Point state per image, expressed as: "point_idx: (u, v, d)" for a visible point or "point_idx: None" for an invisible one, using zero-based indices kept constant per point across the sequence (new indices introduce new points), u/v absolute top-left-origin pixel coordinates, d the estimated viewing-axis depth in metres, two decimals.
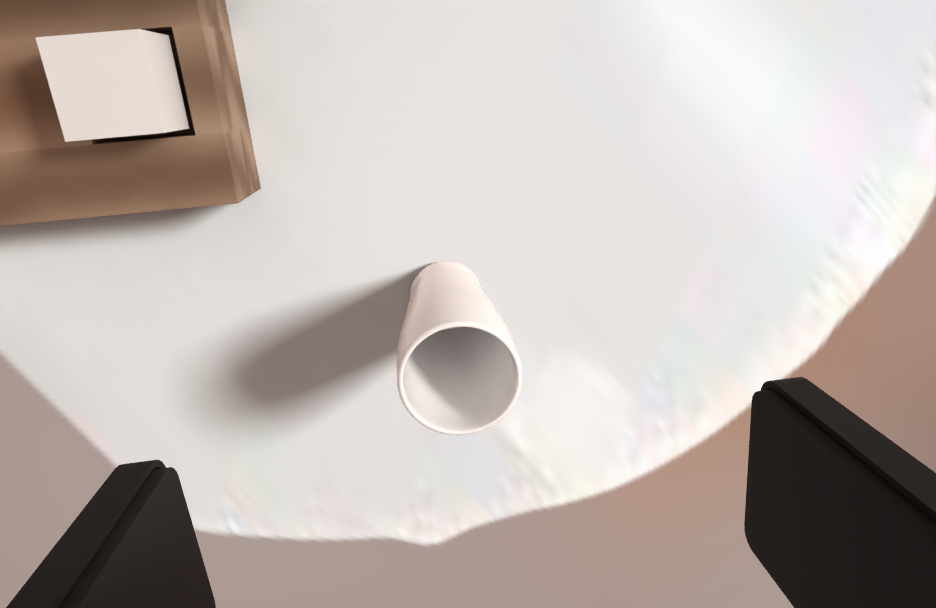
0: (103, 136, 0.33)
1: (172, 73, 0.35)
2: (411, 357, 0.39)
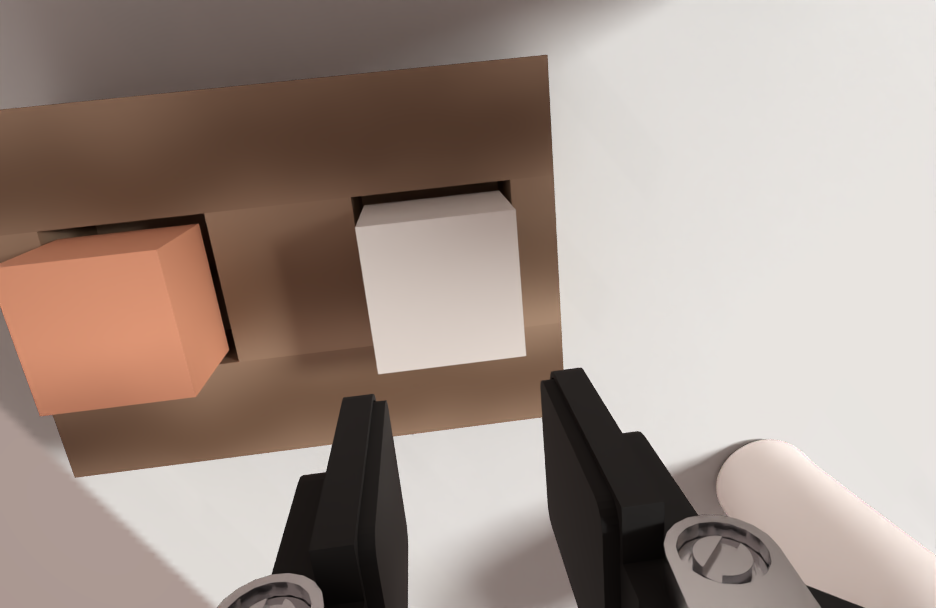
0: (436, 365, 0.21)
1: None
2: None
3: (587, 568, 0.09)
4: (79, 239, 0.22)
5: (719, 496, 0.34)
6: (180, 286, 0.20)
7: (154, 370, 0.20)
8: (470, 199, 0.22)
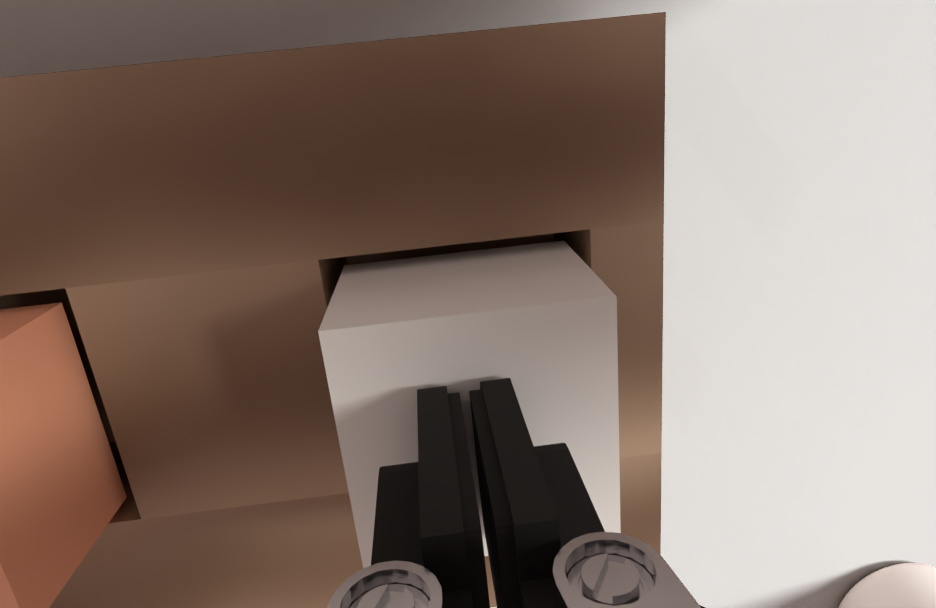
0: None
1: None
2: None
3: (498, 583, 0.09)
4: None
5: None
6: None
7: None
8: (522, 261, 0.13)
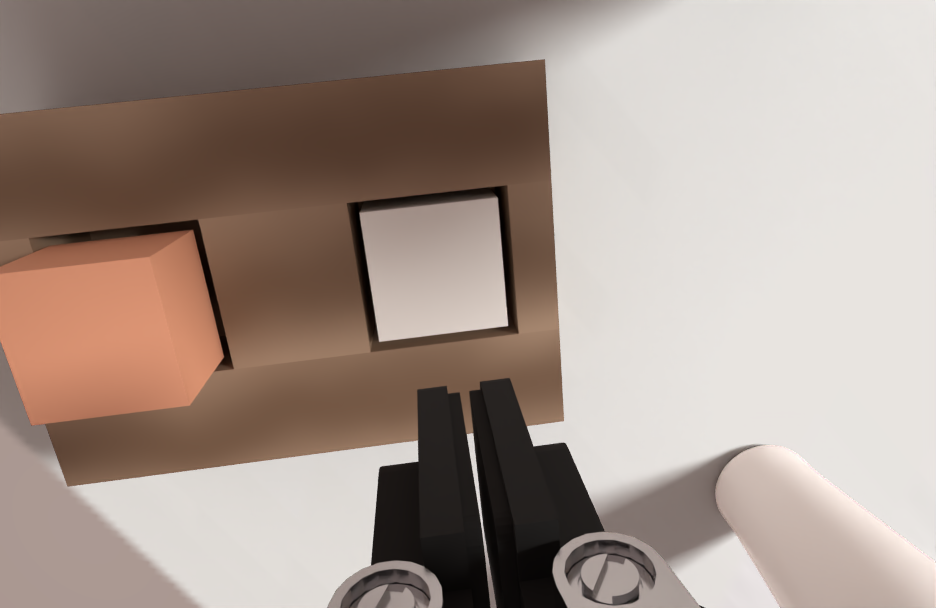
0: (430, 333, 0.24)
1: None
2: None
3: (498, 583, 0.09)
4: (72, 246, 0.22)
5: (718, 502, 0.34)
6: (174, 294, 0.20)
7: (147, 379, 0.20)
8: (459, 190, 0.25)
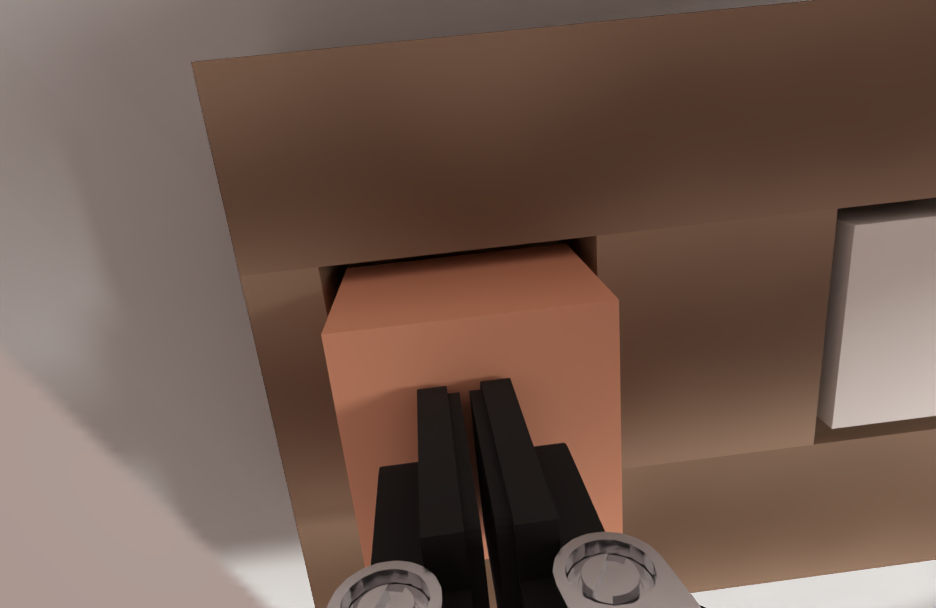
0: (911, 416, 0.15)
1: None
2: None
3: (498, 583, 0.09)
4: (392, 270, 0.14)
5: None
6: None
7: None
8: None
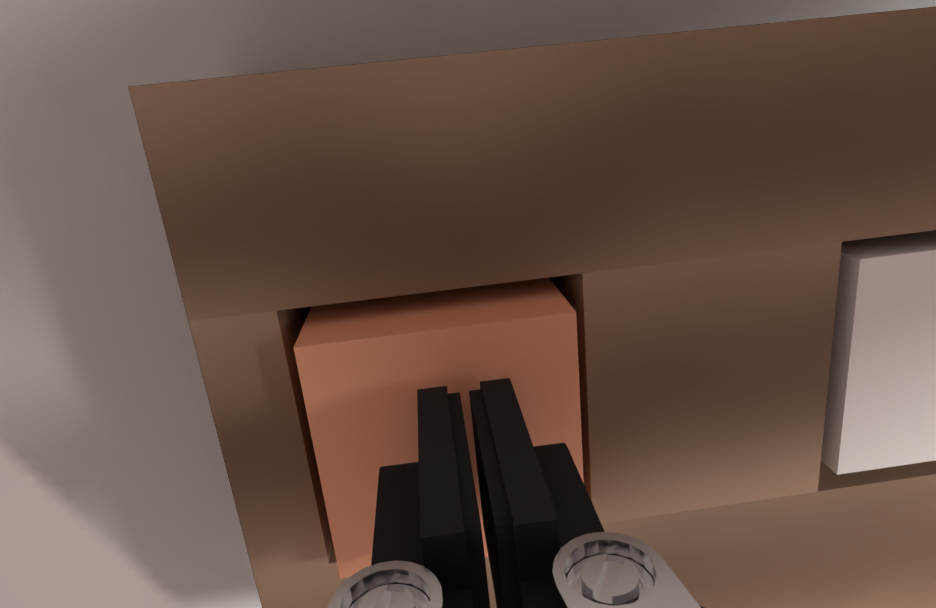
0: (920, 459, 0.14)
1: None
2: None
3: (498, 583, 0.09)
4: None
5: None
6: None
7: None
8: None
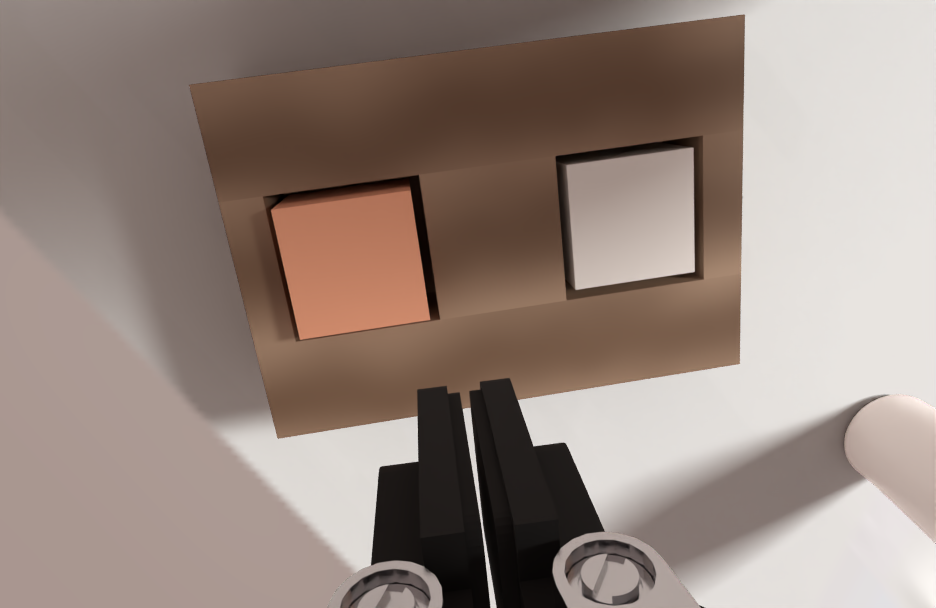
0: (622, 281, 0.26)
1: None
2: None
3: (498, 583, 0.09)
4: (313, 192, 0.26)
5: (849, 451, 0.36)
6: None
7: (398, 297, 0.24)
8: (638, 146, 0.27)
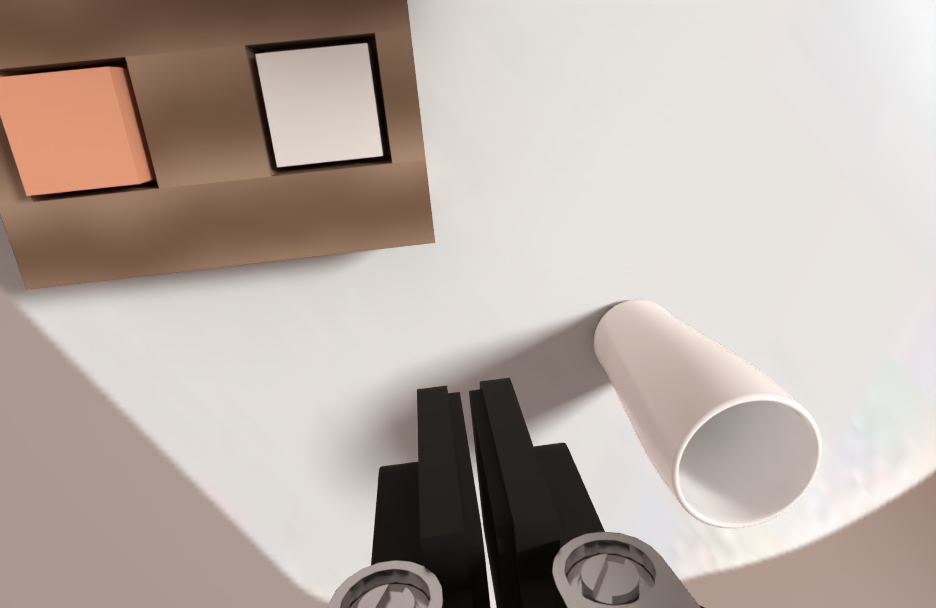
0: (318, 161, 0.30)
1: (377, 89, 0.32)
2: None
3: (498, 583, 0.09)
4: None
5: (595, 349, 0.40)
6: (128, 102, 0.28)
7: (108, 161, 0.28)
8: None
